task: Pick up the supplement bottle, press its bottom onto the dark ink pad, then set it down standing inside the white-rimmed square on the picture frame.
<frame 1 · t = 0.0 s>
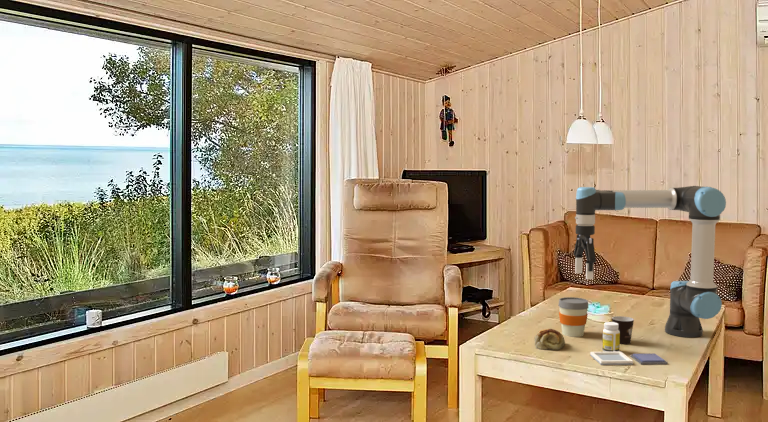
hand: (583, 276, 274), 28 cm above the table, tool pointing down, fingers open, 13 cm apart
picture frame: (611, 359, 253), on the table
pastry: (550, 347, 271), on the table
coffee mug: (625, 342, 277), on the table
supplement bottle: (610, 351, 264), on the table
reusable coffee cup: (572, 334, 289), on the table
ink pad: (648, 360, 252), on the table
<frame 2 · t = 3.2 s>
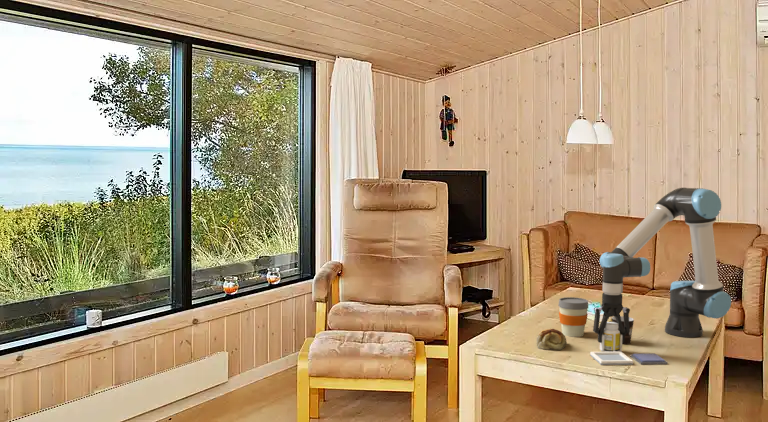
hand: (610, 350, 264), 0 cm above the table, tool pointing down, fingers closed on supplement bottle, 6 cm apart
supplement bottle: (610, 351, 264), on the table, touching gripper
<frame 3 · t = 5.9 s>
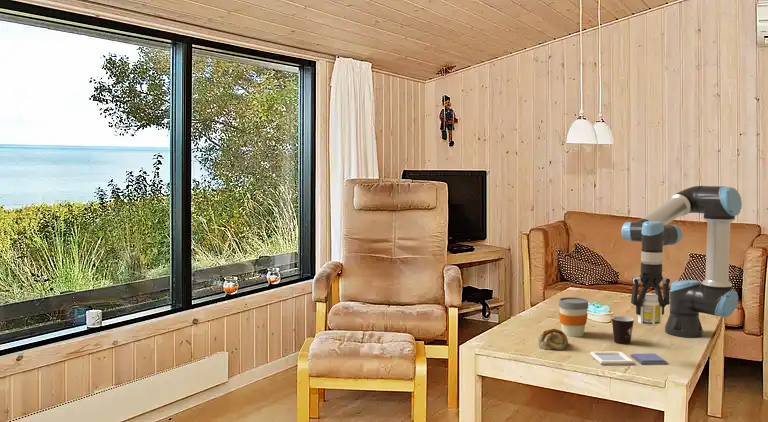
hand: (649, 323, 251), 14 cm above the table, tool pointing down, fingers closed on supplement bottle, 6 cm apart
supplement bottle: (649, 324, 251), point 14 cm above the table, touching gripper
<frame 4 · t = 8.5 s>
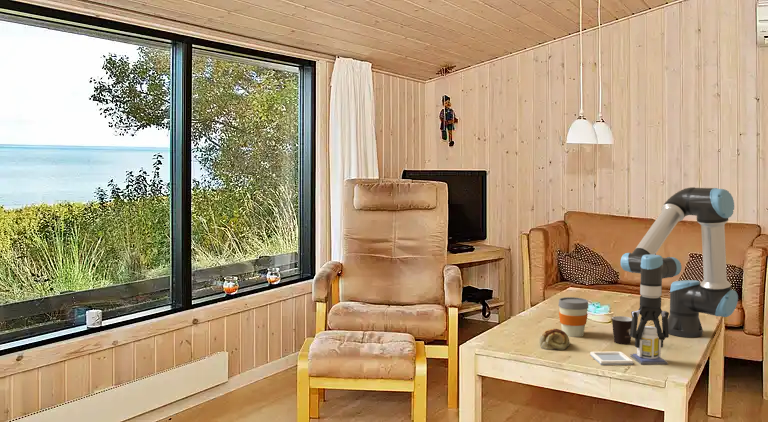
hand: (648, 355, 252), 2 cm above the table, tool pointing down, fingers closed on supplement bottle, 6 cm apart
supplement bottle: (648, 357, 252), point 1 cm above the table, touching gripper, ink pad
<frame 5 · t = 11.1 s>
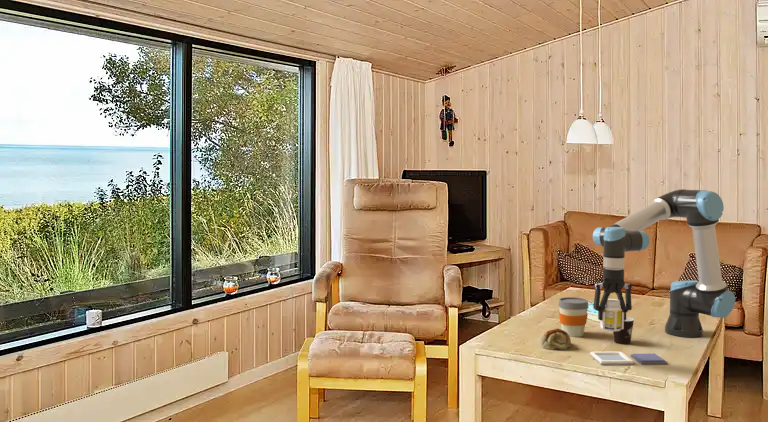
hand: (611, 328, 252), 12 cm above the table, tool pointing down, fingers closed on supplement bottle, 6 cm apart
supplement bottle: (611, 330, 252), point 12 cm above the table, touching gripper
when the fingers open (2 cm above the table, at t = 13.5 s): supplement bottle stays where it is, resting on picture frame.
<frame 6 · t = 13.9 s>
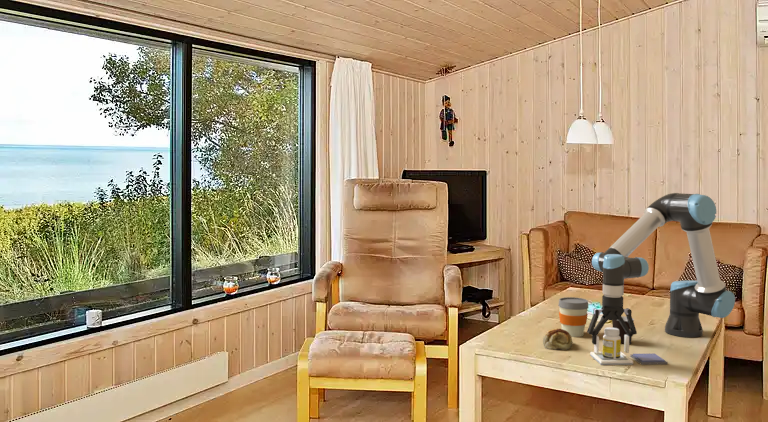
hand: (611, 352, 252), 3 cm above the table, tool pointing down, fingers open, 11 cm apart
supplement bottle: (611, 358, 253), resting on picture frame
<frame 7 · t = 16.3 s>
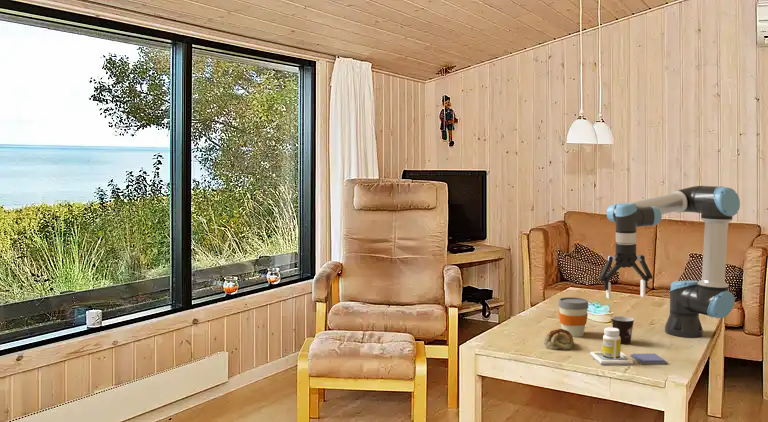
hand: (625, 297, 258), 23 cm above the table, tool pointing down, fingers open, 13 cm apart
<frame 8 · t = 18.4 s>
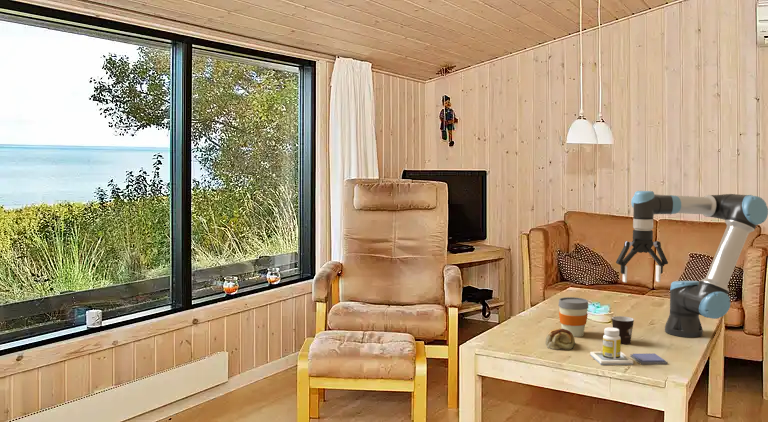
hand: (641, 281, 268), 27 cm above the table, tool pointing down, fingers open, 13 cm apart
at the end: supplement bottle inside the target area on the picture frame (0.0 cm from its centre), point 0.4 cm above the picture frame's base; supplement bottle tilted 0°; the gripper is holding nothing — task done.
